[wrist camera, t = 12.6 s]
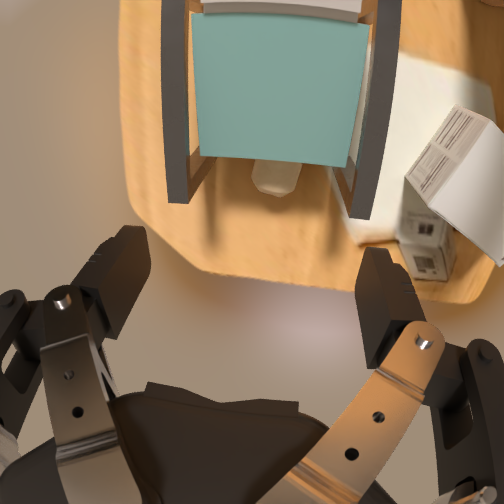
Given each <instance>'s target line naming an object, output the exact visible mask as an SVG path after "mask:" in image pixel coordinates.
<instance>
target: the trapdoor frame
mask: <svg viewBox="0 0 504 504" xmlns="http://www.w3.org/2000/svg"><path fill="white" fill-rule="evenodd" d="M401 6H402V0H362V4H361V13H358V20H357V23H361V24H366V25H371V24H373V30H372V42H371V54H370V64H369V74H368V83H367V92H366V100H365V108H364V115H363V122H362V129H361V136H360V143H359V149H358V155H357V161H356V166H355V164H354V162H353V160H352V158H351V157H350V156H348V158H347V163H346V167H345V168H343V167H335V166H333V171H334V173H335V176H336V179H337V182H338V185H339V188H340V191H341V194H342V197H343V200H344V203H345V206H346V210H347V213H348V216H349V218H355V219H364V220H369V219H370V215H371V211H372V207H373V202H374V198H375V193H376V189H377V184H378V180H379V175H380V170H381V165H382V160H383V154H384V149H385V143H386V138H387V132H388V126H389V120H390V113H391V107H392V100H393V93H394V85H395V77H396V68H397V59H398V49H399V37H400V24H401ZM189 10H190V11H193V12H195V13H204V3H201V0H162V6H161V92H162V119H163V138H164V154H165V168H166V181H167V193H168V203H180V204H189V202H190V200H191V199H192V197H193V195H194V194H195V192H196V191H197V189H198V187H199V186H200V184H201V182H202V181H203V179H204V178H205V176H206V174H207V173H208V171H209V170H210V168H211V167H212V165H213V163H214V162H215V160H216V157H214V156H200V146H199V147H198V148H197V149H196V150H195V151H194V152H193V153H192V155H191V156H190V151H189V114H188V30H189Z"/></svg>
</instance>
